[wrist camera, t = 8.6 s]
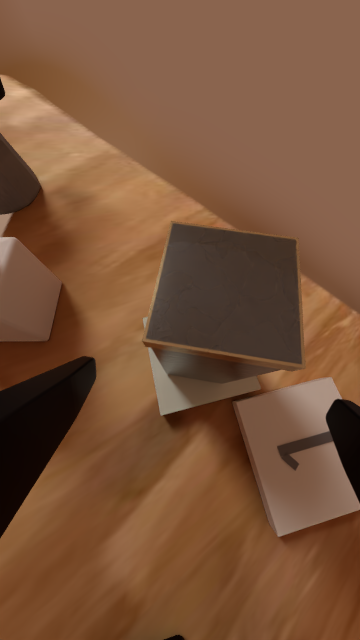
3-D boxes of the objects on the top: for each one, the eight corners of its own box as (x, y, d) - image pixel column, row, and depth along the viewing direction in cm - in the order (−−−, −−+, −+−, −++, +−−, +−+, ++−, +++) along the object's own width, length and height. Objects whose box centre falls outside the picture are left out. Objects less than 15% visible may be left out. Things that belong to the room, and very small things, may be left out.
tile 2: (255, 389, 19) (261, 389, 17) (162, 413, 18) (160, 415, 17) (225, 305, 22) (229, 298, 20) (145, 323, 21) (142, 317, 20)
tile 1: (372, 490, 16) (392, 500, 15) (269, 524, 15) (278, 538, 14) (320, 378, 19) (332, 376, 18) (231, 401, 18) (236, 402, 17)
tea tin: (223, 385, 17) (305, 368, 6) (165, 375, 18) (142, 341, 6) (228, 329, 19) (298, 238, 8) (175, 321, 19) (170, 221, 8)
